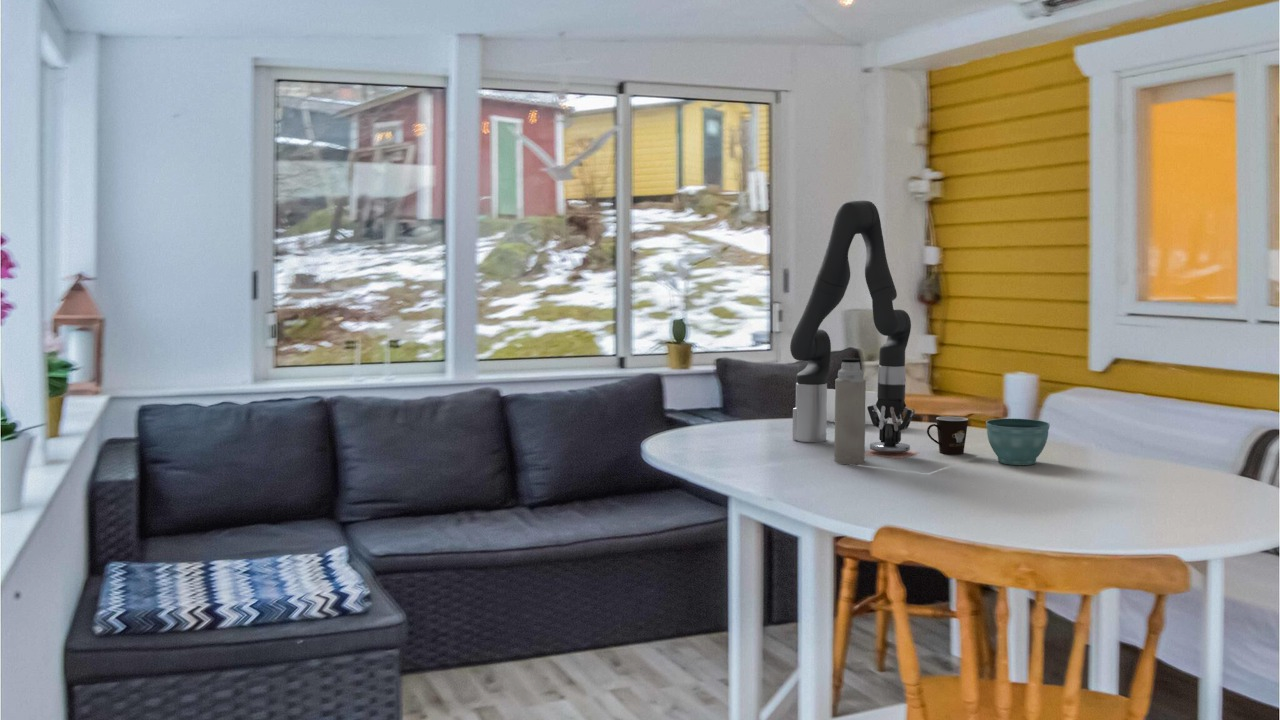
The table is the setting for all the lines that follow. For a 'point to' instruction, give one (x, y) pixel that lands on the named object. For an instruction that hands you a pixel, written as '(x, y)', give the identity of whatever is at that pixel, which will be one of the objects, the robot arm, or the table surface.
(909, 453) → the mat
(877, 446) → the lid
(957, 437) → the coffee mug
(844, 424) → the thermos bottle
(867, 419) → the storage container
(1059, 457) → the table surface
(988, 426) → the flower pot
